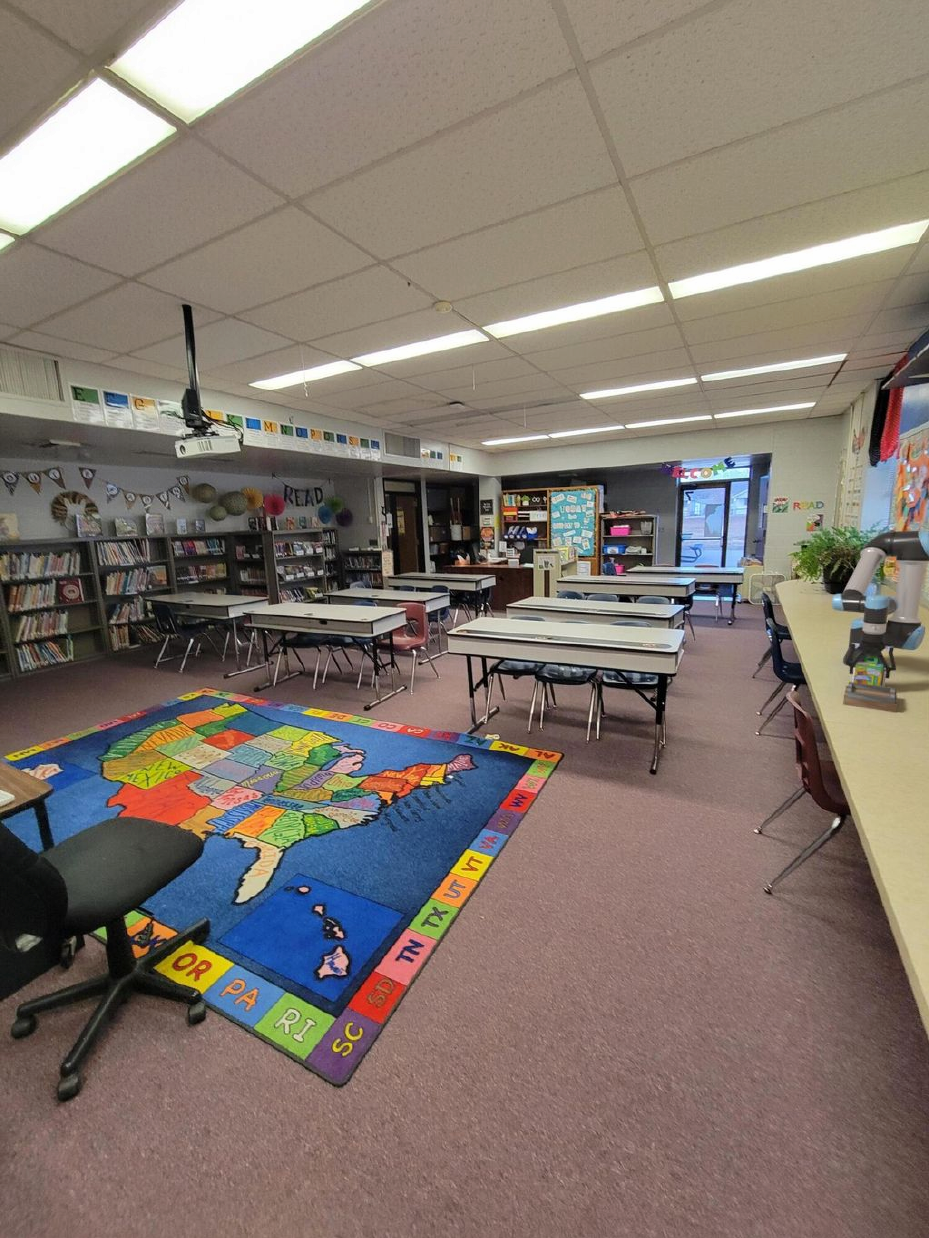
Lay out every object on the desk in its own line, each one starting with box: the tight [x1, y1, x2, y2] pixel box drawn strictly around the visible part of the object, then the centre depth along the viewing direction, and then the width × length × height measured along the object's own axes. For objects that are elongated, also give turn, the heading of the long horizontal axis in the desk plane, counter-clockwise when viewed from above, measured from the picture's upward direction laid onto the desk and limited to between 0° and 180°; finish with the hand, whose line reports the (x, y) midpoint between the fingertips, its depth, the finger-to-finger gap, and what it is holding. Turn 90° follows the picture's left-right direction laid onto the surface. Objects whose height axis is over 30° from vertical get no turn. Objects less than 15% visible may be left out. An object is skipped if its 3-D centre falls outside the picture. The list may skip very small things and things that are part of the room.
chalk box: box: [853, 655, 886, 686], centre depth 209 cm, size 9×9×15 cm
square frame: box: [842, 681, 898, 713], centre depth 196 cm, size 16×16×5 cm
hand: (868, 683), depth 210 cm, fingers closed on chalk box, 9 cm apart
